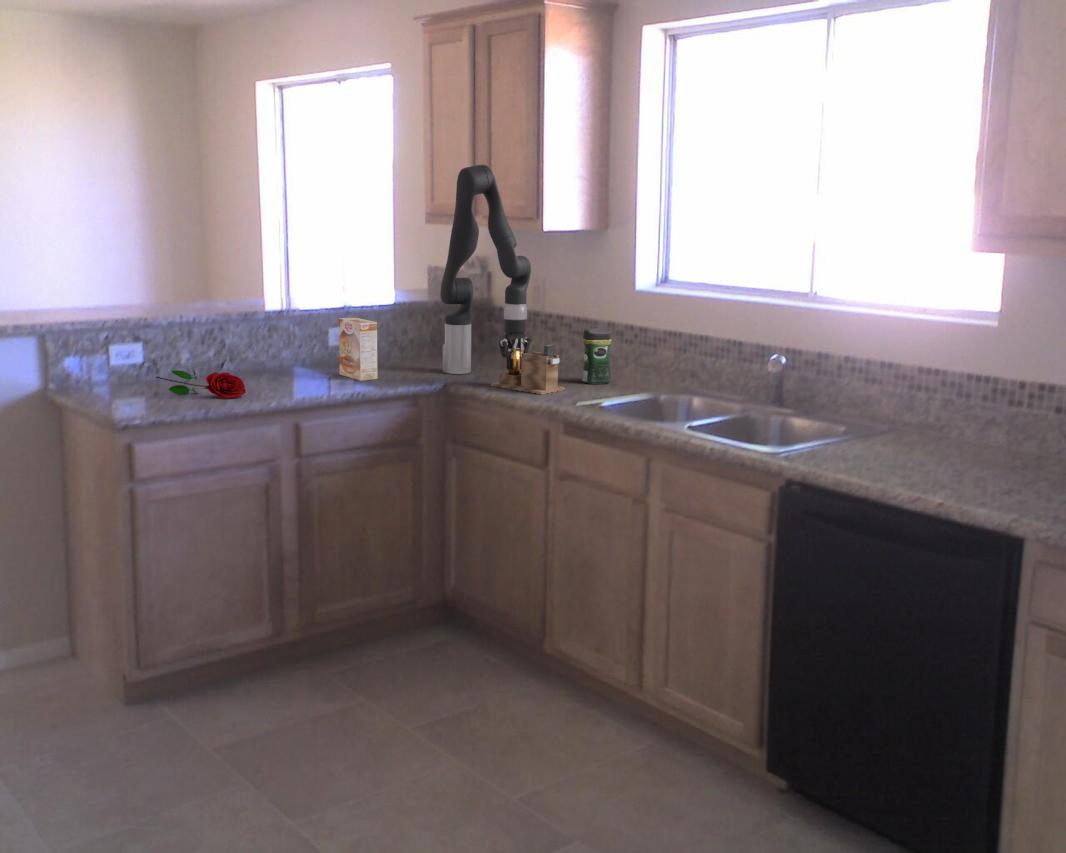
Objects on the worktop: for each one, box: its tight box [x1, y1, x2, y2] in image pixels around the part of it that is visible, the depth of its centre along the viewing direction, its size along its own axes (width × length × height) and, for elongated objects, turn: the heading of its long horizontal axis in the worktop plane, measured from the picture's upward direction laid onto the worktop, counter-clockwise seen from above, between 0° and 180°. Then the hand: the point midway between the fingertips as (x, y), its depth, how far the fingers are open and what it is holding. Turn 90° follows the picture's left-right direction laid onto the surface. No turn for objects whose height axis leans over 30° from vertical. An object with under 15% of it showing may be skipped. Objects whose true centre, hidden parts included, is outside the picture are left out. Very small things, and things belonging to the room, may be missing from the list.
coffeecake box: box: [338, 317, 378, 381], centre depth 383 cm, size 15×7×20 cm, turn 37°
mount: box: [490, 351, 566, 395], centre depth 370 cm, size 22×12×12 cm, turn 50°
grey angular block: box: [533, 344, 561, 364], centre depth 365 cm, size 12×3×6 cm, turn 50°
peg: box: [508, 350, 521, 375], centre depth 373 cm, size 4×4×8 cm
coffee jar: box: [581, 327, 612, 385], centre depth 383 cm, size 10×8×19 cm
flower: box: [155, 367, 247, 400], centre depth 345 cm, size 9×9×30 cm
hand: (514, 369), depth 373 cm, fingers closed on peg, 3 cm apart
